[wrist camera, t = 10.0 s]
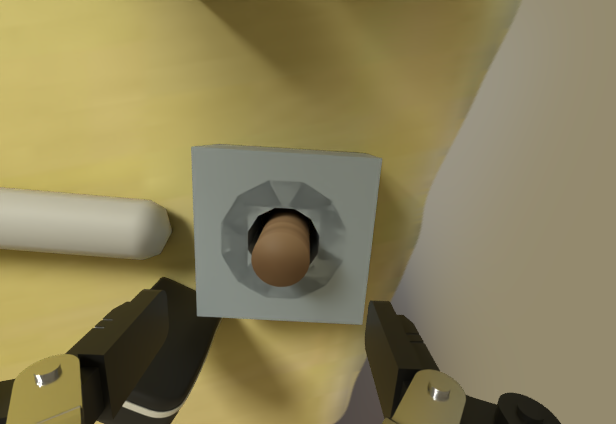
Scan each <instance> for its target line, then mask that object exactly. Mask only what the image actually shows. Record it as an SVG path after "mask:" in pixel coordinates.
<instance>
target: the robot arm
mask: <svg viewBox="0 0 616 424" xmlns="http://www.w3.org/2000/svg"><path fill="white" fill-rule="evenodd" d="M168 330H169V319H168V305H167V294H166V292H165V291H164V290H149V289H144V290H142V291H141V292H140V293H139V294H138V295H137V296H136V297H135V298H134V299H133V300H132V301H131V302H125V303H124V304H122V305H120V306H118V307H116V308H114V309H113V310H112V311H111V312H110V313H108V314H107V315H106V316H105V317H104V318H103V320H101V321H100V322H99V323H98V324H97V325H96V326H95V328H92V329H91V330H90V331H89V332H88V333H87V334H86V335H85V336H84V337H83V338H82V339H81V340H80V341H78V342H77V343H76V344H75V345H74V346H73V347H72V348H71V349H70V350H69V351H68V352H67V353H66V354H61V355H55V356H51V357H48V358H45V359H42V360H40V361H38V362H36V363H34V364H32V365H30V366H29V367H27V368H26V369H25V370H23V371H22V372H21V373H20V374H19V375H18V376H17V378H16V379H12V380H6V381H1V382H0V424H94V423H95V422H96V420H113V419H114V418H115V416H116V415H117V413H118V412H119V410H120V409H121V407H122V406H123V404H124V403H125V401H126V400H127V398H128V397H129V395H130V394H131V392H132V391H133V389H134V388H135V386H136V385H137V383H138V382H139V380H140V378H141V377H142V375H143V374H144V372H145V371H146V369H147V368H148V366H149V365H150V363H151V362H152V360H153V359H154V357H155V356H156V354H157V353H158V351H159V350H160V348H161V347H162V345H163V344H164V342H165V340H166V338H167V335H168ZM365 349H366V353H367V357H368V360H369V364H370V368H371V371H372V375H373V378H374V382H375V385H376V389H377V393H378V397H379V400H380V404H381V408H382V411H383V415H384V421H383V423H382V424H561V423H560V422H559V420H558V419H557V418H556V417H555V416H554V415H553V414H552V413H551V412H550V411H549V410H548V409H547V408H546V407H544V406H543V405H542V404H540V403H538V402H537V401H535V400H533V399H531V398H529V397H527V396H524V395H521V394H517V393H505V394H503V395H501V396H500V398H499V401H498V404H497V405H496V404H492V403H489V402H486V401H483V400H479V399H476V398H473V397H469V396H467V395H465V392H464V390H463V389H462V387H461V386H460V385H459V384H458V383H457V382H456V381H455V380H454V379H453V378H451V377H450V376H448V375H446V374H445V373H442V372H440V370H439V368H438V367H437V365H436V363H435V361H434V360H433V358H432V356H431V354H430V352H429V351H428V349H427V347H426V345H425V344H424V343H423V340H422V338H421V336H420V335H419V333H418V331H417V329H416V327H415V326H414V324H413V323H412V322H411V321H410V320H409V319H407V318H406V317H405V316H404V315H396V313H395V311H394V309H393V307H392V305H391V303H390V302H389V301H370V302H369V307H368V315H367V323H366V331H365Z"/></svg>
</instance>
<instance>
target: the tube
mask: <svg viewBox="0 0 616 424" xmlns="http://www.w3.org/2000/svg"><path fill="white" fill-rule="evenodd" d="M171 233H172V229H171V225H170V221H169V218H168V214H167V211H166V209H165V208H164V207H162V206H160V205H158V204H157V203H155V202H153V201H151V200H145V199H133V198H121V197H109V196H98V195H86V194H74V193H62V192H50V191H39V190H27V189H15V188H3V187H0V249H8V250H21V251H34V252H47V253H60V254H73V255H85V256H98V257H111V258H124V259H137V260H144V259H147V258H150V257H152V256H155V255H158V254H160V253H161V252H162V250H163V248H164V246H165V244H166V242H167V240H168V238H169V237H170V235H171Z"/></svg>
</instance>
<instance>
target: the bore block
mask: <svg viewBox="0 0 616 424" xmlns="http://www.w3.org/2000/svg"><path fill="white" fill-rule="evenodd" d="M191 152H192V182H193V211H194V241H195V271H196V301H197V316H203V317H222V318H241V319H261V320H280V321H299V322H318V323H337V324H356V325H362V322H363V314H364V306H365V297H366V289H367V281H368V272H369V264H370V256H371V247H372V239H373V231H374V223H375V214H376V206H377V198H378V189H379V181H380V173H381V164H382V158H379V157H376V156H372V155H369V154H366V153H354V152H338V151H322V150H306V149H290V148H274V147H258V146H242V145H226V144H214V145H204V146H194V147H191ZM273 208H289V209H296V210H297V211H299V212H300V213H302V214H303V215H305V216H307V217H308V218H310V219H311V220H312V222H313V224H314V226H315V229H314V231H313V232H312V234H311V235H310V236H309V242H310V264H309V268H308V271H307V273H306V274H305V276H304V277H303V278H302V279H301V280H300V281H299V282H297V283H295V284H293V285H291V286H287V287H275V286H272V285H269V284H267V283H265V282H263V281H262V280H261V279H260V278H259V277H258V276H257V275H256V273H255V272H254V270H253V267H252V263H251V256H252V252H253V249H254V247H255V245H256V243H257V241H258V238H259V236H260V234H261V232H262V230H263V227H262V225H261V214H263V213H265V212H267V211H269V210H271V209H273Z"/></svg>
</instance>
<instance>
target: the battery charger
mask: <svg viewBox="0 0 616 424" xmlns="http://www.w3.org/2000/svg"><path fill="white" fill-rule="evenodd" d="M150 290H164V291H165V292H166V294H167V305H168V319H169V330H168V335H167V338H166V340H165V342H164V344H163V345H162V347H161V348H160V350H159V351H158V353H157V354H156V356H155V357H154V359H153V360H152V362H151V363H150V365H149V366H148V368H147V369H146V371H145V372H144V374H143V375H142V377H141V378H140V380H139V382H138V383H137V385H136V386H135V388H134V389H133V391H132V392H131V394H130V395H129V397H128V398H127V400H126V401H125V403H124V404H123V406H122V407H121V409H120V410H119V412H118V413H117V415H116V416H115V418H114V419H113V420H97V421H99V422H101V423H104V424H171V422H172V421H173V419H174V418H175V416H176V415H177V413H178V411H179V410H180V408H181V407H182V406H183V404H184V403H185V401H186V400H187V398H188V396H189V394H190V392H191V390H192V388H193V386H194V384H195V382H196V380H197V378H198V376H199V374H200V372H201V370H202V367H203V365H204V363H205V360H206V358H207V355H208V353H209V350H210V347H211V345H212V342H213V339H214V336H215V334H216V331H217V329H218V327H219V325H220V323H221V321H222V319H223V318H222V317H203V316H197V301H196V291H194V290H192V289H190V288H188V287H185V286H183V285H181V284H179V283H177V282H175V281H172V280H170V279H168V278H165V277H162V278H160V280H159V281H158V282H157V283H156V284H155V285H154V286H153V287H152V288H151V289H150Z"/></svg>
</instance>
